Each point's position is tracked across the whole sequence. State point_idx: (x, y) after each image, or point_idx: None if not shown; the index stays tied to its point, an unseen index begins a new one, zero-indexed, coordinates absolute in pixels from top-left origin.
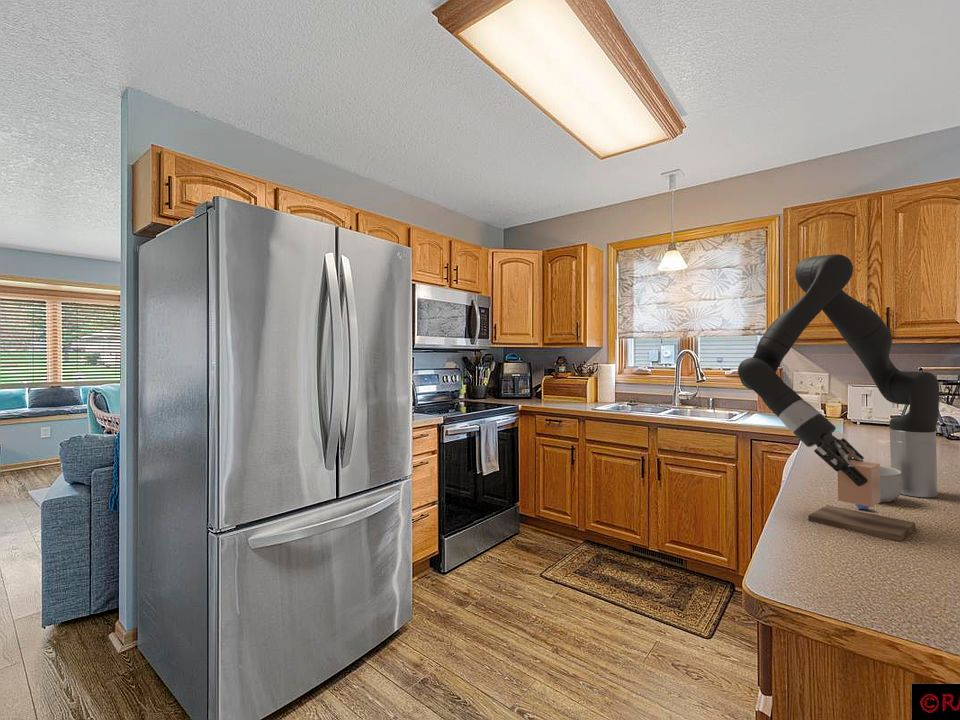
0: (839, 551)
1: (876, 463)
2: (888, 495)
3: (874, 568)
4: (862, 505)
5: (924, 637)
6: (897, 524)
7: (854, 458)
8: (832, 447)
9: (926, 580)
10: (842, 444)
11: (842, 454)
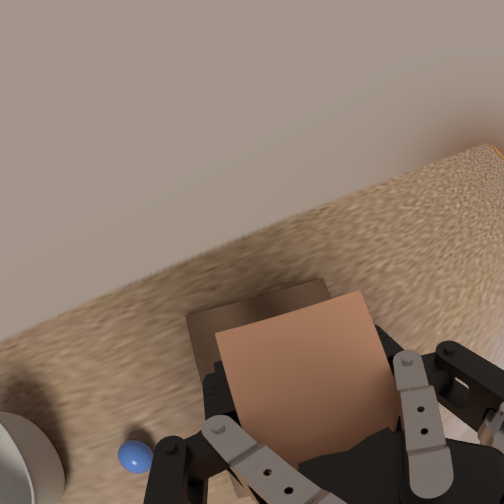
0: (461, 287)
1: (223, 344)
2: (39, 429)
3: (457, 229)
4: (151, 451)
5: (492, 154)
6: (241, 325)
7: (201, 470)
8: (465, 445)
9: (424, 187)
10: (338, 500)
11: (434, 395)
